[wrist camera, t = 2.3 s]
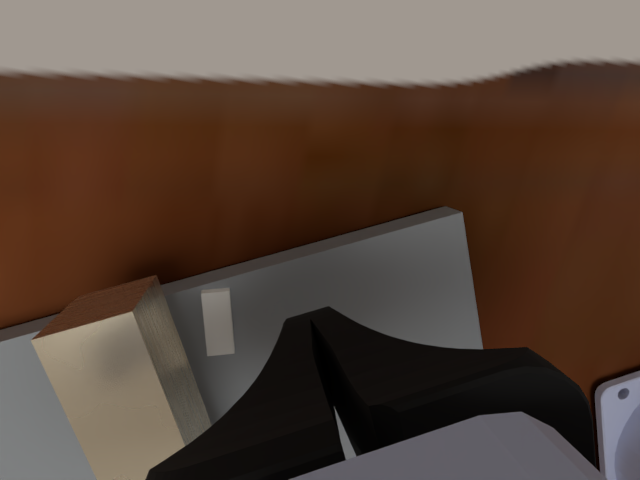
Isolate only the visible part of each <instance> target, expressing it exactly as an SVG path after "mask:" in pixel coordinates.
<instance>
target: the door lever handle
mask: <svg viewBox="0 0 640 480" xmlns="http://www.w3.org/2000/svg"><path fill="white" fill-rule="evenodd" d="M31 342H32V344H33V346H34V348H35V351H36V353H37V355H38V357H39V359H40V361H41V363H42V365H43V367H44V370H45V372H46V374H47V376H48V378H49V380H50V382H51V384H52V386H53V388H54V391H55V393H56V395H57V397H58V399H59V401H60V403H61V405H62V407H63V410H64V412H65V414H66V416H67V418H68V420H69V422H70V424H71V426H72V428H73V431H74V433H75V435H76V437H77V439H78V441H79V443H80V445H81V447H82V450H83V452H84V454H85V456H86V458H87V460H88V462H89V464H90V466H91V469H92V471H93V473H94V475H95V477H96V479H97V480H145V479H146V477H147V474H148V472H149V469H151V468H153V467H154V466H156V465H158V464H159V463H161V462H162V461H164V460H165V459H167V458H168V457H170V456H171V455H173V454H174V453H176V452H177V451H179V450H180V449H182V448H183V447H185V446H186V445H188V444H189V443H190V442H192V441H193V440H195V439H196V438H197V437H198V436H200V435H201V434H202V433H203V432H205V431H206V430H207V429H208V428H210V427H211V426H212V424H211V422H210V419H209V416H208V413H207V411H206V408H205V405H204V402H203V400H202V397H201V394H200V392H199V389H198V386H197V383H196V381H195V378H194V375H193V372H192V370H191V367H190V364H189V362H188V359H187V356H186V353H185V351H184V348H183V345H182V342H181V340H180V337H179V334H178V332H177V329H176V326H175V323H174V321H173V318H172V315H171V312H170V310H169V307H168V304H167V302H166V299H165V296H164V293H163V291H162V288H161V285H160V282H159V280H158V277H157V275H154V276H150V277H147V278H143V279H140V280H136V281H132V282H129V283H125V284H121V285H118V286H114V287H110V288H107V289H103V290H100V291H96V292H92V293H89V294H85V295H81V296H78V297H77V298H75V299H74V300H73V301H72V302H71V303H70V304H69V305H68V306H67V307H66V308H65V309H64V310H63V311H62V312H60V313H59V314H58V315H57V316H56V317H55V318H54V319H53V320H52V321H51V322H50V323H49V324H48V325H47V326H45V327H44V328H43V329H42V330H41V331H40V332H39V333H38V334H37V335H36V336H35V337H34V338H33V339H32V340H31Z"/></svg>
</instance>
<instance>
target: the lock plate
mask: <svg viewBox="0 0 640 480" xmlns="http://www.w3.org/2000/svg"><path fill="white" fill-rule="evenodd" d="M161 288H162V291H163V293H164V296H165V299H166V302H167V304H168V307H169V310H170V312H171V315H172V318H173V321H174V323H175V326H176V329H177V332H178V334H179V337H180V340H181V342H182V345H183V348H184V351H185V353H186V356H187V359H188V362H189V364H190V367H191V370H192V372H193V375H194V378H195V381H196V383H197V386H198V389H199V392H200V394H201V397H202V400H203V402H204V405H205V408H206V411H207V413H208V416H209V419H210V422H211V424H212V425H213V424H214V423H215V422H217V421H218V420H219V419H220V418H221V417H222V416H223V415H224V414H225V413H226V412H227V411H228V410H229V409H230V408H231V407H232V406H233V405H234V404H235V403H236V402H237V401H238V400H239V399H240V398H241V397H242V396H243V395H244V393H245V392H246V391H247V390H248V389H249V387H250V386H251V385H252V383H253V382H254V381H255V380H256V378H257V377H258V375H259V374H260V372H261V371H262V369H263V367H264V365H265V364H266V362H267V360H268V358H269V357H270V355H271V353H272V350H273V348H274V346H275V344H276V342H277V340H278V337H279V335H280V332H281V329H282V326H283V323H284V321H285V320H286V319H287V318H290V317H293V316H297V315H300V314H304V313H307V312H310V311H314V310H317V309H320V308H324V307H327V306H329V307H331V308H333V309H335V310H336V311H338V312H340V313H341V314H343V315H345V316H346V317H348V318H350V319H352V320H353V321H355V322H357V323H359V324H361V325H364V326H366V327H368V328H370V329H373V330H375V331H378V332H380V333H383V334H385V335H388V336H391V337H395V338H399V339H402V340H406V341H410V342H414V343H419V344H425V345H431V346H438V347H446V348H458V349H483V346H482V339H481V332H480V326H479V319H478V312H477V306H476V299H475V292H474V286H473V279H472V272H471V266H470V259H469V252H468V246H467V239H466V232H465V226H464V219H463V212H461V211H458V210H455V209H452V208H449V207H446V206H444V207H441V208H437V209H433V210H430V211H426V212H423V213H419V214H415V215H412V216H408V217H405V218H401V219H397V220H394V221H390V222H387V223H383V224H379V225H376V226H372V227H369V228H365V229H361V230H358V231H354V232H351V233H347V234H343V235H340V236H336V237H333V238H329V239H325V240H322V241H318V242H315V243H311V244H308V245H304V246H300V247H297V248H293V249H290V250H286V251H282V252H279V253H275V254H272V255H268V256H264V257H261V258H257V259H254V260H250V261H246V262H243V263H239V264H236V265H232V266H228V267H225V268H221V269H218V270H214V271H210V272H207V273H203V274H200V275H196V276H192V277H189V278H185V279H182V280H178V281H174V282H171V283H167V284H164V285H161ZM57 315H58V314H56V315H52V316H49V317H45V318H41V319H38V320H34V321H31V322H27V323H24V324H20V325H16V326H13V327H9V328H6V329H2V330H0V480H97V479H96V477H95V475H94V473H93V471H92V469H91V466H90V464H89V462H88V460H87V458H86V456H85V454H84V452H83V450H82V447H81V445H80V443H79V441H78V439H77V437H76V435H75V433H74V431H73V428H72V426H71V424H70V422H69V420H68V418H67V416H66V414H65V412H64V410H63V407H62V405H61V403H60V401H59V399H58V397H57V395H56V393H55V391H54V388H53V386H52V384H51V382H50V380H49V378H48V376H47V374H46V372H45V370H44V367H43V365H42V363H41V361H40V359H39V357H38V355H37V353H36V351H35V348H34V346H33V344H32V342H31V340H32V339H33V338H34V337H35V336H36V335H37V334H38V333H39V332H40V331H41V330H42V329H43V328H44V327H45V326H47V325H48V324H49V323H50V322H51V321H52V320H53V319H54V318H55V317H56V316H57ZM334 408H335V407H334ZM335 414H336V419H337V424H338V429H339V435H340V440H341V444H342V448H343V451H344V455H345V458H346V460H348V459H351V458H354V457H357V456H356V454H355V452H354V450H353V447H352V445H351V443H350V441H349V438H348V436H347V434H346V432H345V430H344V427H343V425H342V423H341V420H340V418H339V416H338V414H337V411H336V409H335Z"/></svg>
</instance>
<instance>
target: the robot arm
mask: <svg viewBox="0 0 640 480" xmlns="http://www.w3.org/2000/svg"><path fill="white" fill-rule="evenodd" d="M334 407H335V408H334ZM595 407H596V421H597V435H598V449H599V463H600V472H599V471H598V470H597V469H596V456H595V443H594V430H593V418H592V414H591V410H590V406H589V401H588V400H587V398H586V396H585V395H584V393H583V392H582V390H581V388H580V387H579V385H577V384H576V383H575V382H574V381H572V380H571V379H570V378H569V377H567V376H566V375H565V374H564V373H562V372H561V371H560V370H558V369H557V368H556V367H555V366H553V365H552V364H551V363H550V362H548V361H547V360H545V359H544V358H542V357H541V356H540V355H538V354H537V353H535V352H534V351H532V350H530V349H529V348H528V347H522V348H502V349H458V348H446V347H438V346H431V345H425V344H419V343H414V342H410V341H406V340H402V339H399V338H395V337H391V336H388V335H385V334H383V333H380V332H378V331H375V330H373V329H370V328H368V327H366V326H364V325H361V324H359V323H357V322H355V321H353V320H352V319H350V318H348V317H346V316H345V315H343V314H341V313H340V312H338V311H336V310H335V309H333V308H331V307H329V306H327V307H324V308H320V309H317V310H314V311H310V312H307V313H304V314H300V315H297V316H293V317H290V318H287V319H286V320H285V321H284V323H283V326H282V329H281V332H280V335H279V337H278V340H277V342H276V344H275V346H274V348H273V350H272V353H271V355H270V357H269V358H268V360H267V362H266V364H265V365H264V367H263V369H262V371H261V372H260V374H259V375H258V377H257V378H256V380H255V381H254V382H253V383H252V385H251V386H250V387H249V389H248V390H247V391H246V392H245V393H244V395H243V396H242V397H241V398H240V399H239V400H238V401H237V402H236V403H235V404H234V405H233V406H232V407H231V408H230V409H229V410H228V411H227V412H226V413H225V414H224V415H223V416H222V417H221V418H220V419H219V420H218V421H217V422H215V423H214V424H213V425H212V426H211V427H210V428H208V429H207V430H206V431H205V432H203V433H202V434H201V435H200V436H198V437H197V438H196V439H195V440H193V441H192V442H190V443H189V444H188V445H186V446H185V447H183V448H182V449H180V450H179V451H177V452H176V453H174V454H173V455H171V456H170V457H168V458H167V459H165V460H164V461H162V462H161V463H159V464H158V465H156V466H154V467H153V468H151V469H149V472H148V474H147V477H146V479H145V480H640V371H637V372H634V373H631V374H628V375H625V376H622V377H619V378H616V379H613V380H610V381H607V382H604V383H602V384H601V385H599V386H598V387H597V389H596V391H595ZM335 409H336V411H337V414H338V416H339V418H340V420H341V423H342V425H343V427H344V430H345V432H346V434H347V436H348V438H349V441H350V443H351V445H352V447H353V450H354V452H355V454H356V456H357V457H354V458H351V459H348V460H346V458H345V455H344V451H343V448H342V444H341V440H340V435H339V429H338V424H337V419H336V414H335Z"/></svg>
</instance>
